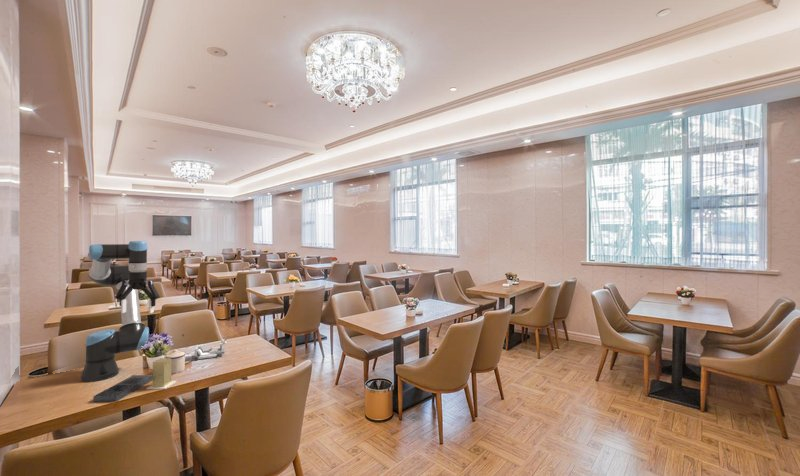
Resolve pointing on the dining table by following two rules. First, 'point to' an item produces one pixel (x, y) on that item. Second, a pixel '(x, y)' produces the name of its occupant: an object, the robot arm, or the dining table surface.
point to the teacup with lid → (177, 361)
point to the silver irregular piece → (209, 352)
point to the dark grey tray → (122, 388)
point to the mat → (161, 387)
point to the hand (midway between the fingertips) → (137, 312)
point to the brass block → (161, 372)
